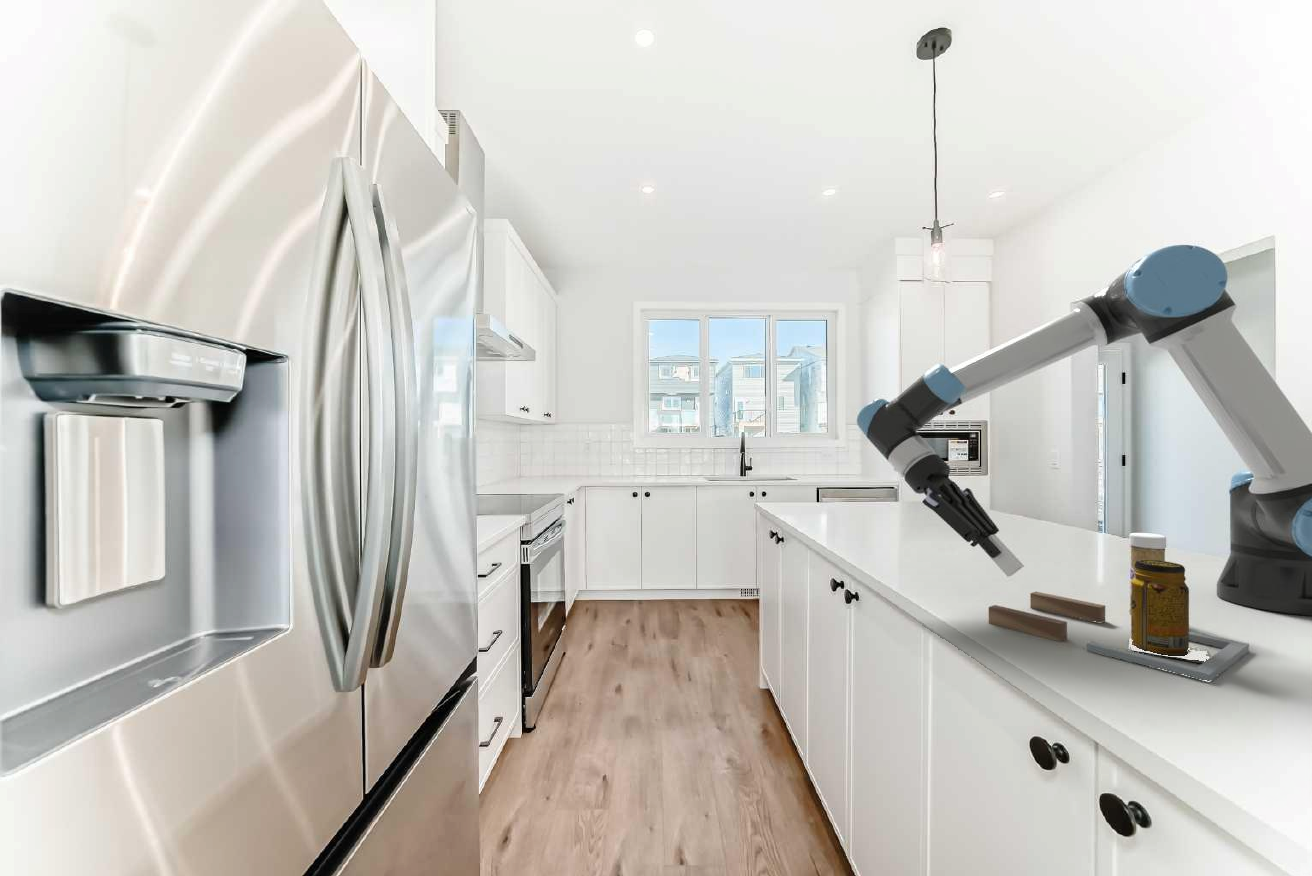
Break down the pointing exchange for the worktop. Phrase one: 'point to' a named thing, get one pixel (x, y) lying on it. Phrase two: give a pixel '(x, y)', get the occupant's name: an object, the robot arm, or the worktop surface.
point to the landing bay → (1204, 671)
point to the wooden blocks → (1045, 624)
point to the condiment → (1160, 609)
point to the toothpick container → (1145, 550)
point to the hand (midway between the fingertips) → (1015, 571)
